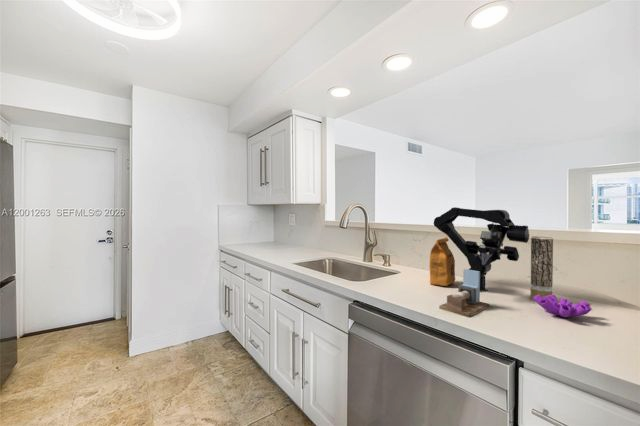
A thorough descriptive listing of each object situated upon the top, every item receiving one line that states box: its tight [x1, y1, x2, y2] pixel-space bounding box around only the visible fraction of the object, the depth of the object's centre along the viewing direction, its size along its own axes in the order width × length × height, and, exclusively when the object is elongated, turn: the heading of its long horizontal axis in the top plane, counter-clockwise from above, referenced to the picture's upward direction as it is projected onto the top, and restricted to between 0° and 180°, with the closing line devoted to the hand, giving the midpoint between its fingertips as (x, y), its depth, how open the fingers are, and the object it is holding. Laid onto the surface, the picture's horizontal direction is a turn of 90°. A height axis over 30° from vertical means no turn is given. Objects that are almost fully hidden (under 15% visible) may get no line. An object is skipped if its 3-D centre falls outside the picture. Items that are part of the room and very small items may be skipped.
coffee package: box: [428, 236, 456, 287], centre depth 131 cm, size 10×12×22 cm
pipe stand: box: [438, 290, 490, 318], centre depth 99 cm, size 17×10×6 cm, turn 128°
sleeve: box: [461, 268, 481, 303], centre depth 102 cm, size 3×5×11 cm, turn 38°
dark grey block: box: [457, 284, 476, 304], centre depth 100 cm, size 2×5×5 cm, turn 38°
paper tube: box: [530, 235, 554, 299], centre depth 109 cm, size 7×7×25 cm
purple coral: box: [532, 294, 593, 318], centre depth 92 cm, size 11×15×10 cm
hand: (483, 266), depth 109 cm, fingers closed
